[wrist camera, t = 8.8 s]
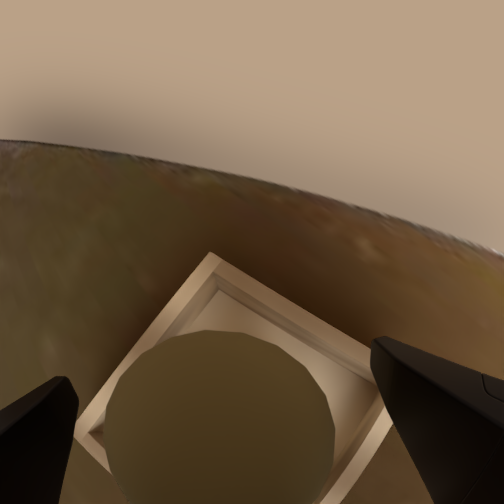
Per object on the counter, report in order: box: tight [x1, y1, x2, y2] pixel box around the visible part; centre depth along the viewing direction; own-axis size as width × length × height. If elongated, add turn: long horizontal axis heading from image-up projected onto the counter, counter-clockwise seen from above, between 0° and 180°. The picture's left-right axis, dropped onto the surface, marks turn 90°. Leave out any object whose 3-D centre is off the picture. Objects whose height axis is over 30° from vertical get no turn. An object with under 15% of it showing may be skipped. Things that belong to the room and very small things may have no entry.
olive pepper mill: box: [103, 330, 336, 504], centre depth 10 cm, size 6×6×11 cm
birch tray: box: [74, 252, 393, 504], centre depth 14 cm, size 12×12×3 cm
